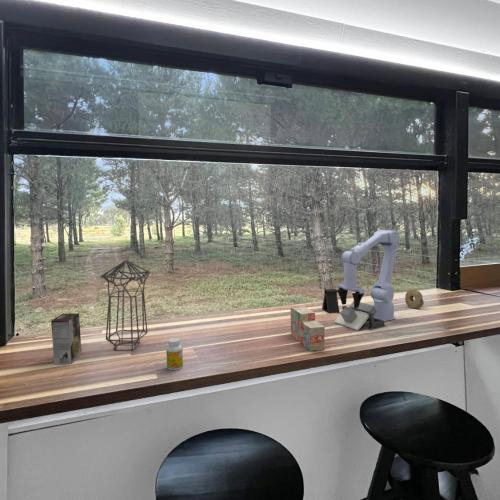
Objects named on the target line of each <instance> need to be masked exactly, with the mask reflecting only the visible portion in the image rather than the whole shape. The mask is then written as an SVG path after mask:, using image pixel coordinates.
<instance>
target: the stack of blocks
mask: <svg viewBox="0 0 500 500" xmlns="http://www.w3.org/2000/svg"><path fill="white" fill-rule="evenodd" d="M325 328H326V327H325V326H324V325H323V324H322V323H321V322H318V320H316V313H315V311H313V310H311V309H309V308H308V307H306V306H305V305H297V306H290V334H291V336H293V337H294V338H295V340H297V341H298V342H299V343H301V345H303V346H304V347H305V349H307V350H308V351H309V352H314V350H316V351H323V349H324V350H325V334H326V331H325Z"/></svg>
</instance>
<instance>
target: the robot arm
mask: <svg viewBox="0 0 500 500" xmlns="http://www.w3.org/2000/svg"><path fill="white" fill-rule="evenodd" d="M399 241H400V234H399V232H398V231H397V230H396V229H392V230H391V229H389V230H387V229H378V230H376V231H375V232H374V233H373V235H372V236H371V237H370V238H369V239H367V240H366V241H365V242H358V243H357V244H356V246H355V245H354V247H352V248H350V250H346V251H344V252H343V253H342V255H341V257H340V259H341V262H342V265H343V284H342V283H337V285H336V287H337V288H336V290H337V295H338V296H339V299H340V301H341V302H340V303H341V305H342V306H345V305H346V304H347V300H348V299H347V296H348V293H349V291H351V292H353V293H351V294H352V298H353V301H354V308H359V304H360V302H361V300H362V299H363V297H364V295H365V288H363V287H359V286H358V284H357V283H358V264H359V263H360V261H361V259H362V258H363V257H365V255H367V254H368V253H369V251H370V249H371V248H373V247H374V246H376V245H380V246H381V247H382V248H383V249H384V252H383V258H382V262H381V265H380V272H379V277H378V280H377V281H376V282H374V283H373V285H372V288H371V289H370V297H371V298H372V301H373V306H374V307H375V309H376V311H377V313H376V314H375V315H374V318H377V319H380V320H384V321H385V322H388V321H391V320H396V318H395V314H394V313H395V305H394V303H393V299H394V298H395V294H394V291H395V287H394V286H393V285H392V284H391V280H392V277H393V276H392V274H393V270H394V265H395V260H396V256H397V252H398V251H397V250H398V246H399Z"/></svg>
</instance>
